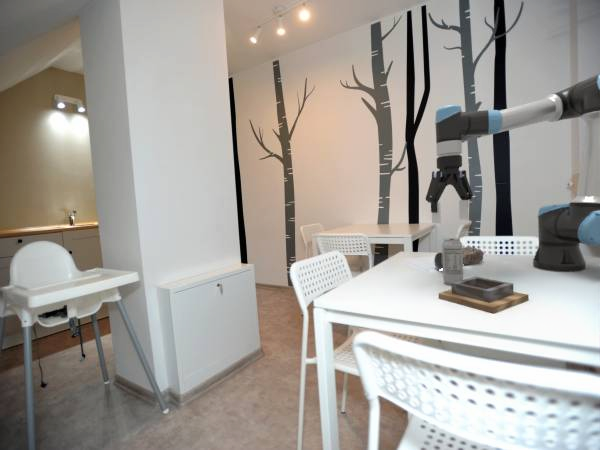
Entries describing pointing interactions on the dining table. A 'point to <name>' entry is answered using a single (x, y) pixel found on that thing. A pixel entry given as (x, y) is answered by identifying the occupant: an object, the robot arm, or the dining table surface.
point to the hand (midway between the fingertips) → (450, 221)
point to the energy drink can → (452, 260)
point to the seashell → (472, 255)
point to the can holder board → (484, 294)
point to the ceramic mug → (439, 260)
